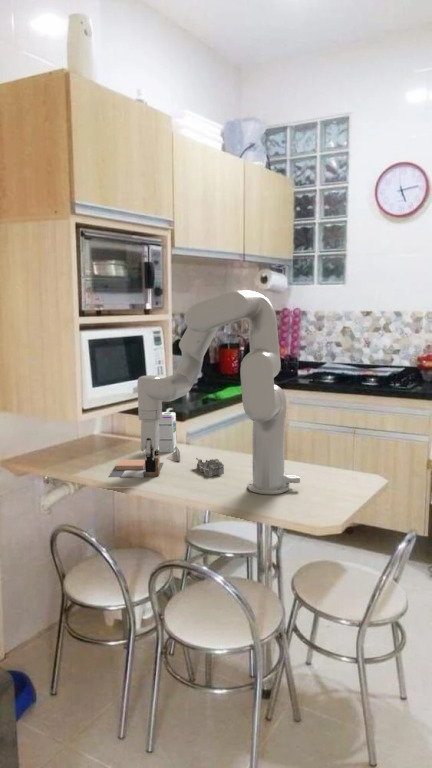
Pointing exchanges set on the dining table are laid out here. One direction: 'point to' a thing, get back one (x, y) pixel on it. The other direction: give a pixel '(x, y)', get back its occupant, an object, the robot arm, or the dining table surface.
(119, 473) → the mat
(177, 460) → the ceramic fragment
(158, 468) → the turner
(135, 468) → the tile
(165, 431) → the syrup box
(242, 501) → the dining table surface
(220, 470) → the egg carton
